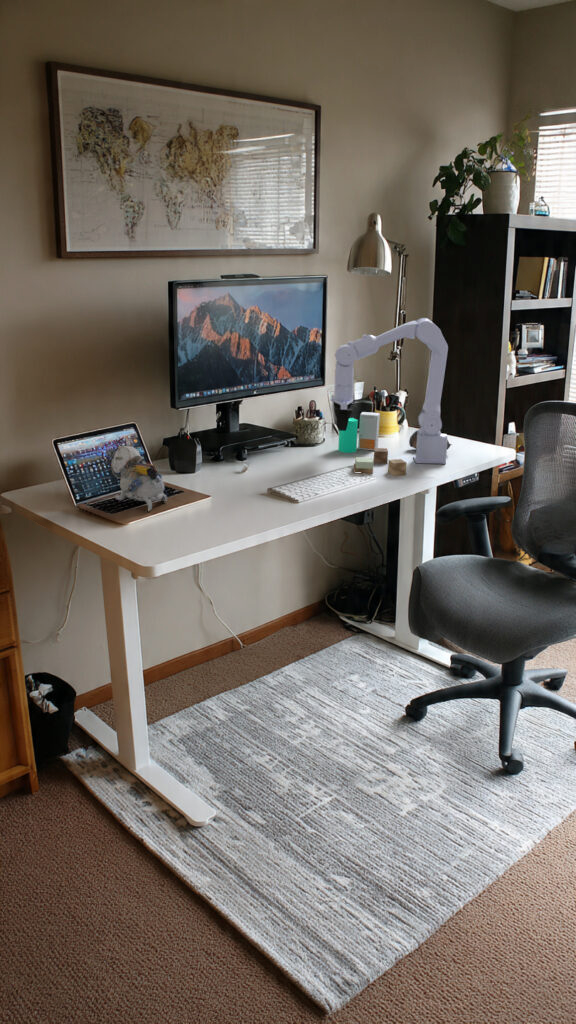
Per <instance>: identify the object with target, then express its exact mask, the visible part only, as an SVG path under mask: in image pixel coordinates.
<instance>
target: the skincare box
mask: <svg viewBox="0 0 576 1024" xmlns="http://www.w3.org/2000/svg"><path fill="white" fill-rule="evenodd" d="M380 417H381V413H380V412H372V411H370V412H369V411H368V412H367V411H362V412H361V413H360V414H359V424H358V426H359V427H358V429H359V430H358V440H357V444H358V445H357V446H358V447H357V449H358V450H367V451H374V448H379V432H380V422H381V421H380Z"/></svg>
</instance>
